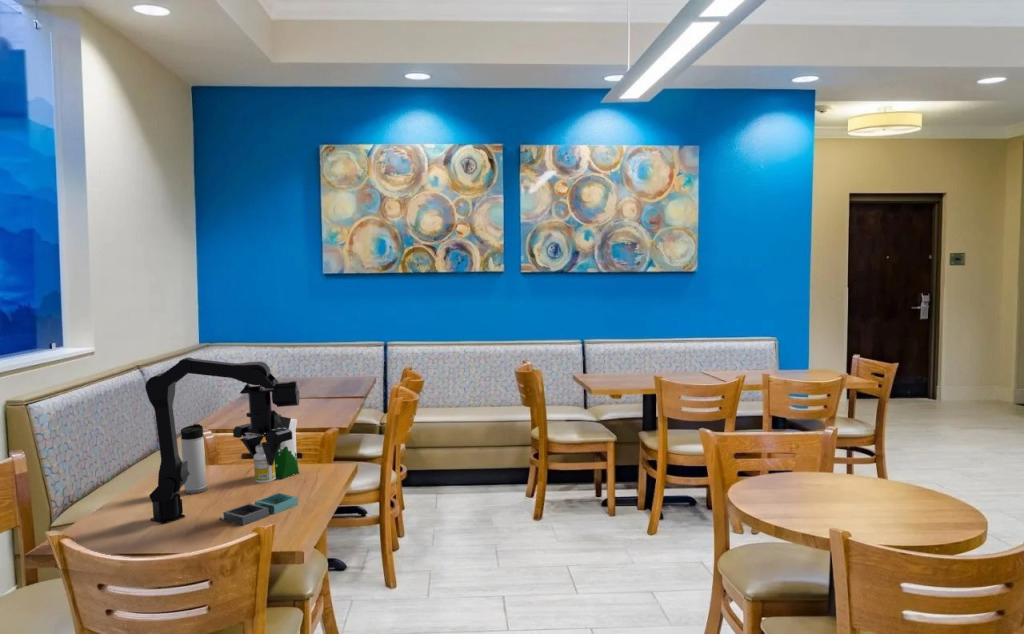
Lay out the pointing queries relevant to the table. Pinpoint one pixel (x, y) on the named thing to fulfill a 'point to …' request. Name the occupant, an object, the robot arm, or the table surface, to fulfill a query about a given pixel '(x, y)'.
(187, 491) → the travel mug
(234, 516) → the grey and teal tray
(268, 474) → the supplement bottle
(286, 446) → the milk carton
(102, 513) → the table surface
